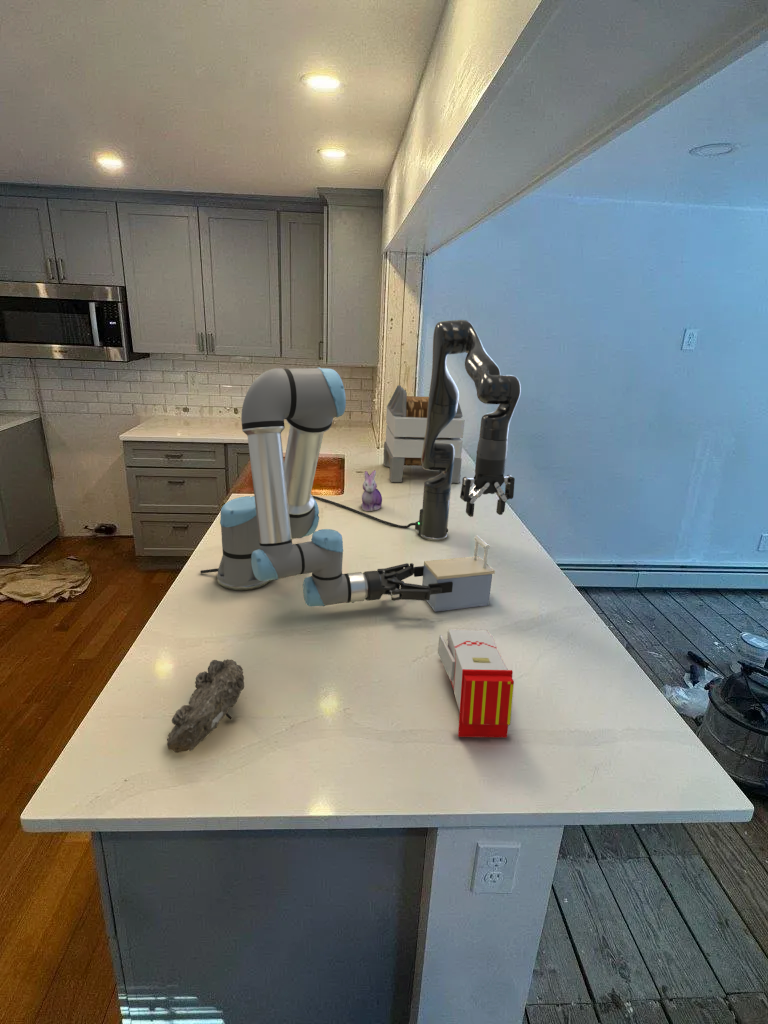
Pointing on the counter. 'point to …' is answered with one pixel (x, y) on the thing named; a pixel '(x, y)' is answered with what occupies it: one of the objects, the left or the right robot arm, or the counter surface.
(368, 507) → the figurine
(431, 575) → the chest
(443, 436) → the grey crate
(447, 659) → the toy
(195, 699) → the fossil
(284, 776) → the counter surface
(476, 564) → the lid
